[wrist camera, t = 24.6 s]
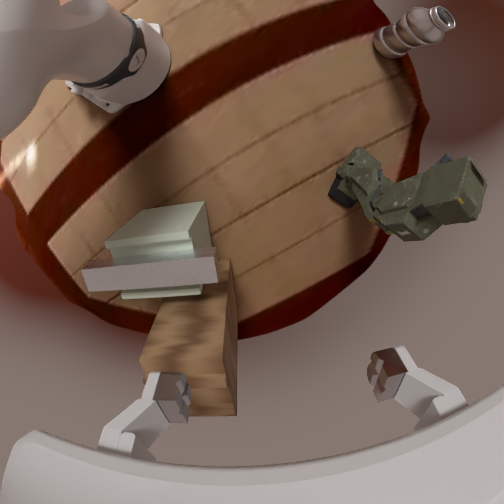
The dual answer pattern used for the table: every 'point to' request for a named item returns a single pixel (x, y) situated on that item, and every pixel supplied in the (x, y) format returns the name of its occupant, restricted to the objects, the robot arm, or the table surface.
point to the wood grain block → (199, 344)
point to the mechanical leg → (411, 194)
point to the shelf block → (162, 240)
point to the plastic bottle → (413, 31)
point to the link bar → (153, 270)
